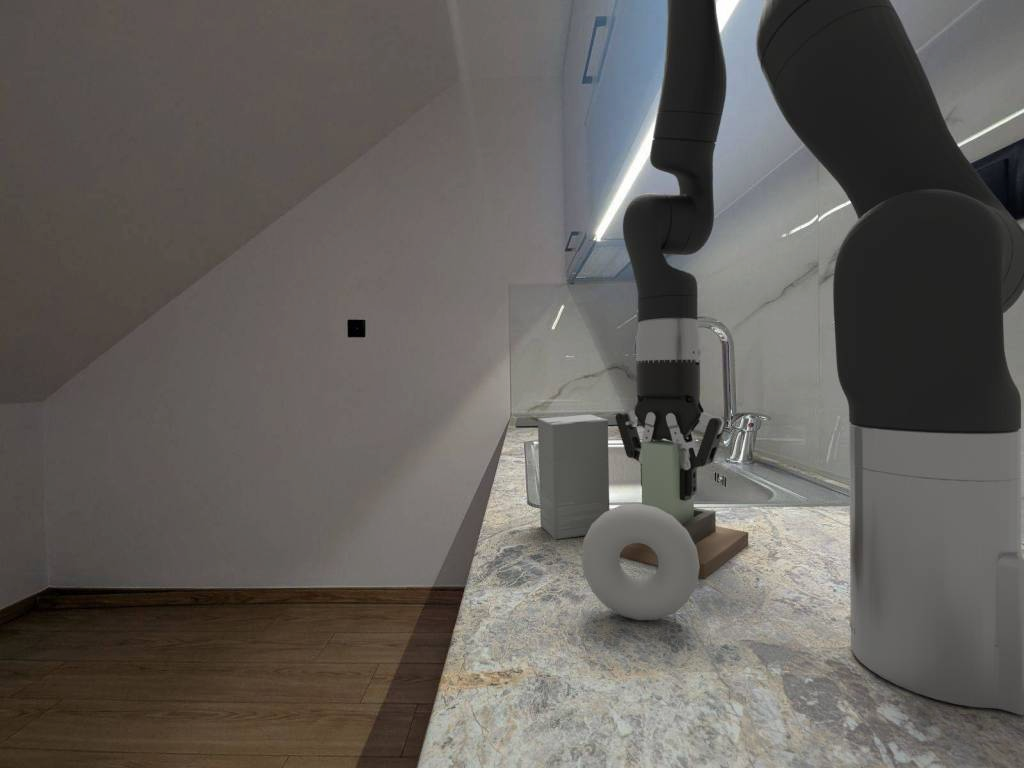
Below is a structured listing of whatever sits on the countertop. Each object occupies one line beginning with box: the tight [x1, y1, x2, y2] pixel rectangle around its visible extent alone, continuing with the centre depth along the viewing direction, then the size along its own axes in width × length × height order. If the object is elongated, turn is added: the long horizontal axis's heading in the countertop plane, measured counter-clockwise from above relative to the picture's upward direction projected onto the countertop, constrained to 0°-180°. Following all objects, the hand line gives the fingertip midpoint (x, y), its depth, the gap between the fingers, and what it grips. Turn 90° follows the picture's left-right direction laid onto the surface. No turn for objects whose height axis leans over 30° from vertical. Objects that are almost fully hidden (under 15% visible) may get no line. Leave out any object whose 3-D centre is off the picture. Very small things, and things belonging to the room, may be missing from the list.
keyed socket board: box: [620, 507, 749, 579], centre depth 61 cm, size 14×14×4 cm
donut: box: [580, 503, 700, 621], centre depth 43 cm, size 10×4×10 cm, turn 74°
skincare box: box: [537, 414, 610, 540], centre depth 67 cm, size 8×7×16 cm
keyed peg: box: [641, 439, 695, 524], centre depth 61 cm, size 6×4×10 cm, turn 137°
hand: (668, 495), depth 61 cm, fingers closed on keyed peg, 4 cm apart
